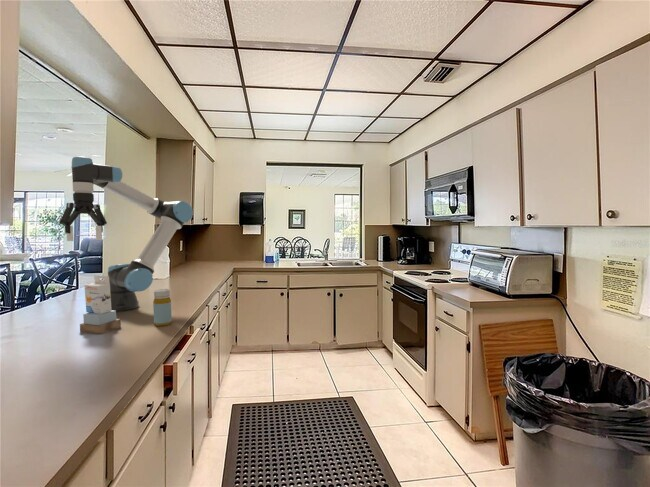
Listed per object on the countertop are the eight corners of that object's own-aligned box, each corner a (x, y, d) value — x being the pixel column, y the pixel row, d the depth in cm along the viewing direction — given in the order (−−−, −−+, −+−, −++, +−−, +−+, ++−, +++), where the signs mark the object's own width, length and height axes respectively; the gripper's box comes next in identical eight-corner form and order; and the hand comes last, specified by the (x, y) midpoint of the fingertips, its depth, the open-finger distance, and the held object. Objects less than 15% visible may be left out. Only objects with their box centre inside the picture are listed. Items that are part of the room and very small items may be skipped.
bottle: (151, 324, 149) (150, 290, 148) (167, 320, 154) (166, 288, 153) (157, 327, 144) (156, 292, 143) (174, 323, 149) (173, 290, 148)
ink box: (85, 312, 139) (82, 277, 138) (96, 309, 144) (94, 275, 143) (101, 314, 137) (98, 278, 136) (112, 310, 142) (110, 276, 141)
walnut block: (102, 326, 147) (101, 317, 147) (120, 328, 145) (120, 319, 144) (80, 333, 137) (79, 324, 137) (99, 335, 135) (99, 325, 135)
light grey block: (101, 318, 145) (101, 309, 145) (116, 319, 143) (116, 310, 143) (83, 323, 138) (83, 313, 137) (99, 325, 135) (98, 315, 135)
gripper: (101, 195, 164) (103, 239, 165) (47, 190, 140) (49, 241, 141) (114, 194, 162) (115, 239, 163) (61, 189, 138) (63, 241, 139)
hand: (85, 240), depth 152 cm, fingers open, 13 cm apart
